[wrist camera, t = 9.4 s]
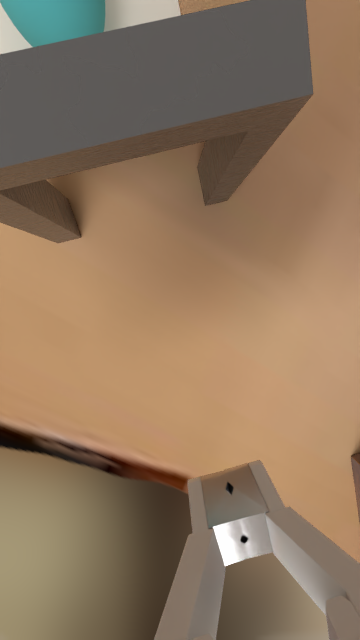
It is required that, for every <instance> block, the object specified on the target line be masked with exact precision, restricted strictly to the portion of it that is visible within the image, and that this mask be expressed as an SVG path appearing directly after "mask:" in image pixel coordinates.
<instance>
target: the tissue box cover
mask: <svg viewBox="0 0 360 640" xmlns="http://www.w3.org/2000/svg"><path fill="white" fill-rule="evenodd" d="M351 462H352V469H353V477H354V484H355V492H356V499H357V507H358V514H359V522H360V453H359V454H356V455H353V456H351Z"/></svg>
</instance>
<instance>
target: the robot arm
mask: <svg viewBox="0 0 360 640" xmlns="http://www.w3.org/2000/svg"><path fill="white" fill-rule="evenodd" d="M188 492H189V501H190V511H191V522H192V530H193V534H190V535H189V536H188V539H187V542H186V545H185V548H184V551H183V554H182V557H181V560H180V563H179V566H178V569H177V572H176V575H175V578H174V581H173V584H172V587H171V590H170V593H169V596H168V599H167V602H166V605H165V609H164V611H163V614H162V617H161V620H160V624H159V627H158V630H157V633H156V636H155V639H154V640H216V633H217V626H218V619H219V612H220V605H221V597H222V590H223V582H224V575H225V566H226V565H229V564H232V563H235V562H238V561H242V560H245V559H247V558H251V557H256V556H259V555H264V554H268V553H272V552H274V555H275V556H276V557H277V558H278V559H279V561H280V562H281V563H282V564H283V565H284V566H285V568H286V569H287V570H288V571H289V572H290V574H291V575H292V576H293V577H294V578H295V580H296V581H297V582H298V583H299V584H300V585H301V587H302V588H303V589H304V590H305V591H306V593H307V594H308V595H309V596H310V597H311V599H312V600H313V601H314V602H315V603H316V604H317V605H318V607H319V608H320V609H321V610H322V611H323V613H324V614H325V615H326V617H327V625H328V632H329V639H330V640H360V564H359V563H358V562H357V561H356V560H355V559H353V558H352V557H351V556H350V555H348V554H347V553H346V552H345V551H344V550H342V549H341V548H340V547H339V546H337V545H336V544H335V543H334V542H332V541H331V540H330V539H329V538H328V537H326V536H325V535H324V534H323V533H321V532H320V531H319V530H318V529H316V528H315V527H314V526H313V525H312V524H310V523H309V522H308V521H307V520H305V519H304V518H303V517H302V516H301V515H299V514H298V513H297V512H296V511H294V510H293V509H292V508H291V507H285V506H284V504H283V502H282V500H281V498H280V496H279V494H278V492H277V490H276V488H275V487H274V485H273V483H272V481H271V479H270V477H269V475H268V473H267V471H266V469H265V467H264V465H263V463H262V462H261V461H260V460H257V461H254V462H250V463H248V464H247V463H245V464H242V465H239V466H235V467H232V468H229V469H225V470H224V471H220V472H216V473H212V474H208V475H204V476H200V477H196V478H192V479H189V480H188Z"/></svg>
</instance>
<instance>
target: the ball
mask: <svg viewBox="0 0 360 640" xmlns="http://www.w3.org/2000/svg"><path fill="white" fill-rule="evenodd" d="M0 3H1V5H2V7H3V9H4V10H5V12H6V13H7V15H8V17H9V18H10V20H11V21H12V23H13V24H14V26H15V27H16V28H17V30H18V31H19V32H20V33H21V35H22V36H23V37H24V38H25V40H26V41H27V42H28V43H29V44H30V45H31V46H32V47H37V46H41V45H46V44H50V43H55V42H60V41H64V40H69V39H74V38H78V37H83V36H88V35H92V34H97V33H102V32H104V26H105V0H0Z"/></svg>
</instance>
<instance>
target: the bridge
mask: <svg viewBox="0 0 360 640" xmlns="http://www.w3.org/2000/svg"><path fill="white" fill-rule="evenodd" d="M312 95H313V85H312V73H311V61H310V49H309V37H308V24H307V12H306V0H250V1H245V2H241V3H236V4H231V5H227V6H222V7H217V8H213V9H208V10H204V11H199V12H194V13H190V14H185V15H180V16H176V17H171V18H166V19H162V20H157V21H153V22H148V23H143V24H139V25H134V26H129V27H125V28H120V29H115V30H111V31H106V32H102V33H97V34H92V35H88V36H83V37H78V38H74V39H69V40H64V41H60V42H55V43H50V44H46V45H41V46H37V47H32V48H27V49H23V50H18V51H13V52H9V53H4V54H0V222H1V223H3V224H6V225H9V226H12V227H14V228H17V229H20V230H23V231H26V232H28V233H31V234H34V235H37V236H39V237H42V238H45V239H48V240H50V241H53V242H56V243H61V242H65V241H69V240H73V239H77V238H81V235H80V232H79V230H78V227H77V224H76V221H75V218H74V215H73V212H72V210H71V207H70V204H69V201H68V199H67V198H66V197H65V196H64V195H62V194H61V193H60V192H59V191H58V190H57V189H56V188H54V187H53V186H52V185H51V184H50V183H49V182H47V181H46V179H50V178H54V177H58V176H62V175H67V174H71V173H75V172H79V171H83V170H87V169H91V168H96V167H100V166H104V165H108V164H112V163H116V162H121V161H125V160H129V159H133V158H137V157H141V156H145V155H150V154H154V153H158V152H162V151H166V150H170V149H174V148H179V147H183V146H187V145H191V144H195V143H199V142H204V141H205V145H204V148H203V151H202V154H201V157H200V161H199V164H198V167H197V168H198V172H199V177H200V182H201V187H202V192H203V197H204V201H205V206H207V205H211V204H215V203H219V202H223V201H227V200H228V199H229V198H230V196H231V195H232V194H233V193H234V191H235V190H236V189H237V188H238V186H239V185H240V184H241V183H242V182H243V180H244V179H245V178H246V177H247V175H248V174H249V173H250V172H251V170H252V169H253V168H254V167H255V165H256V164H257V163H258V162H259V160H260V159H261V158H262V157H263V156H264V154H265V153H266V152H267V151H268V149H269V148H270V147H271V146H272V144H273V143H274V142H275V141H276V139H277V138H278V137H279V136H280V134H281V133H282V132H283V131H284V130H285V128H286V127H287V126H288V125H289V123H290V122H291V121H292V120H293V118H294V117H295V116H296V115H297V113H298V112H299V111H300V110H301V108H302V107H303V106H304V105H305V103H306V102H307V101H308V100H309V99H310V97H311V96H312Z"/></svg>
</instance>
